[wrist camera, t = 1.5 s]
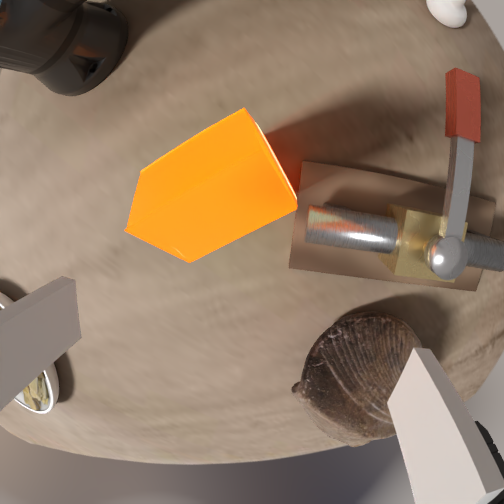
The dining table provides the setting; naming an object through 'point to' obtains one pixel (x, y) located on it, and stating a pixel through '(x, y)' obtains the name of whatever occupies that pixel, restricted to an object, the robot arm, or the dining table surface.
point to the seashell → (355, 376)
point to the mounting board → (374, 202)
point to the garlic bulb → (448, 12)
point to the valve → (396, 237)
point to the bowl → (37, 383)
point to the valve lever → (456, 174)
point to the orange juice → (211, 190)
